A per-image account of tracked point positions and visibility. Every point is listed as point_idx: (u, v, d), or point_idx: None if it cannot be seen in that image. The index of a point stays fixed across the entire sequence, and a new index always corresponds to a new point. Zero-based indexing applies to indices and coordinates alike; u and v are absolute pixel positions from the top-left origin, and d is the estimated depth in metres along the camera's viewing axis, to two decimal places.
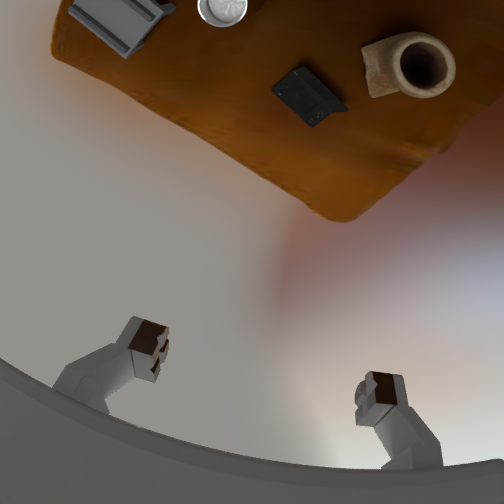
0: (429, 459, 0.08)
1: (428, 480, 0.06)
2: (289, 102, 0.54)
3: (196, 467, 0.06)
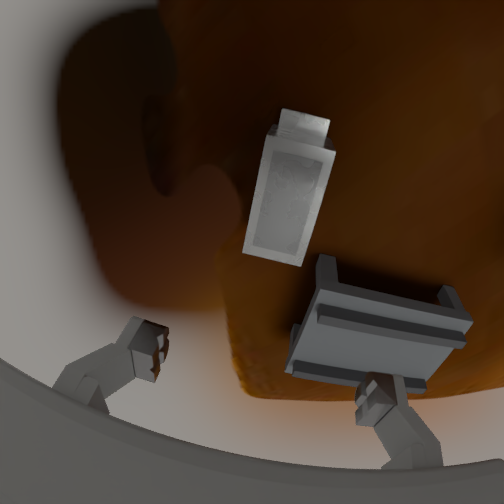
0: (429, 459, 0.08)
1: (428, 480, 0.06)
2: None
3: (196, 467, 0.06)
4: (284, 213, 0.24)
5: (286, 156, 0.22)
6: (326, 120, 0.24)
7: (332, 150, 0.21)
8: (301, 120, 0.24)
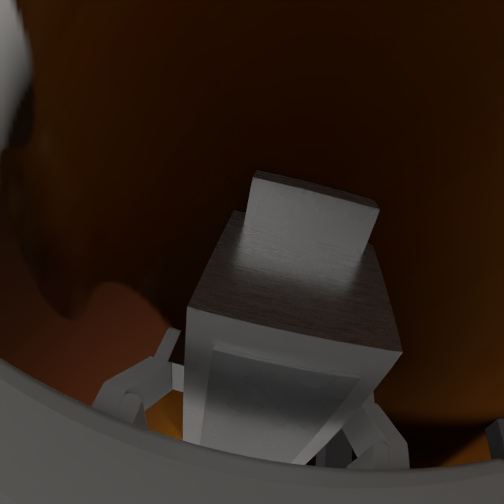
0: (393, 460, 0.08)
1: (428, 480, 0.06)
2: None
3: (196, 467, 0.06)
4: (254, 441, 0.09)
5: (252, 365, 0.07)
6: (370, 209, 0.09)
7: (392, 344, 0.07)
8: (304, 209, 0.10)
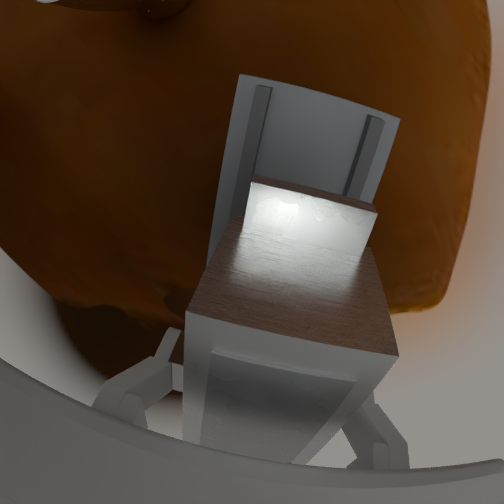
0: (393, 460, 0.08)
1: (428, 480, 0.06)
2: None
3: (196, 467, 0.06)
4: (253, 442, 0.10)
5: (251, 368, 0.07)
6: (368, 213, 0.09)
7: (389, 348, 0.07)
8: (303, 213, 0.10)
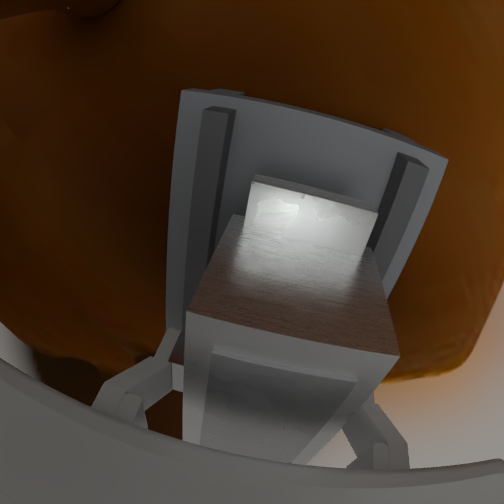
0: (393, 460, 0.08)
1: (428, 480, 0.06)
2: None
3: (196, 467, 0.06)
4: (253, 442, 0.10)
5: (251, 368, 0.07)
6: (369, 213, 0.09)
7: (389, 348, 0.07)
8: (303, 213, 0.10)
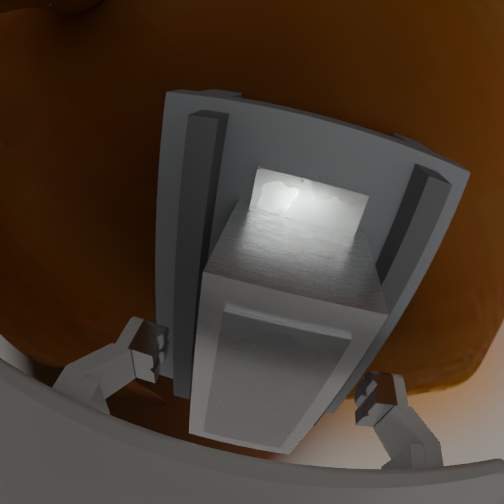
0: (429, 459, 0.08)
1: (428, 480, 0.06)
2: None
3: (196, 467, 0.06)
4: (257, 408, 0.11)
5: (258, 325, 0.08)
6: (360, 195, 0.11)
7: (379, 308, 0.08)
8: (303, 195, 0.11)
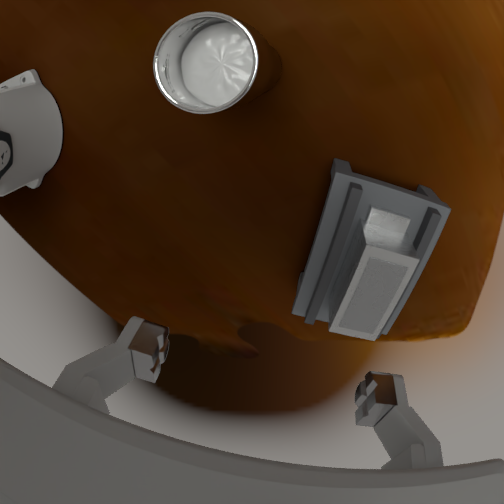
0: (429, 459, 0.08)
1: (428, 480, 0.06)
2: None
3: (196, 467, 0.06)
4: (370, 304, 0.27)
5: (380, 263, 0.25)
6: (407, 219, 0.27)
7: (416, 257, 0.24)
8: (386, 218, 0.27)
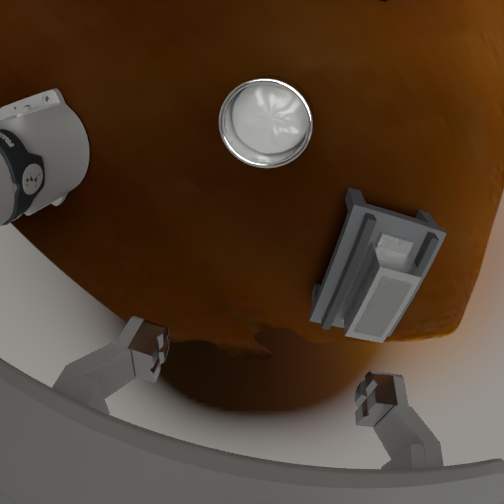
0: (429, 459, 0.08)
1: (428, 480, 0.06)
2: None
3: (196, 467, 0.06)
4: (380, 313, 0.32)
5: (390, 280, 0.30)
6: (411, 242, 0.32)
7: (419, 276, 0.30)
8: (394, 242, 0.33)
